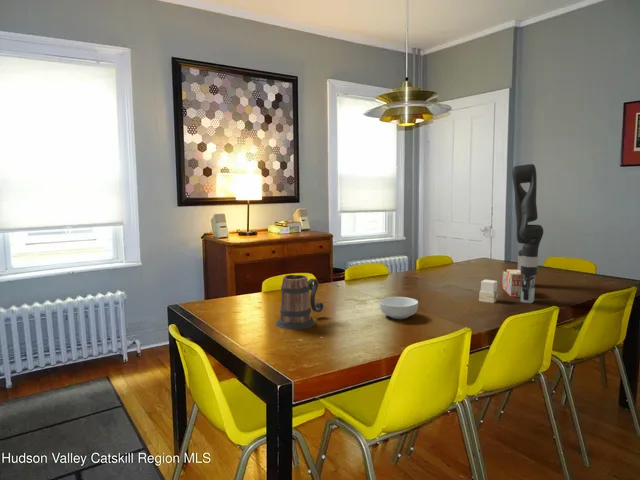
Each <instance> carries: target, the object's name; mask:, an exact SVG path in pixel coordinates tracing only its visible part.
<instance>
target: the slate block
mask: <svg viewBox="0 0 640 480" xmlns="http://www.w3.org/2000/svg"><path fill="white" fill-rule="evenodd" d="M535 288H536V287H535V286H534V287H531V288H530V289H529V298H528V300H524V299H523V296H524V292H522V288H521V297H520V303H526V304H532V303H533V302H534V301H535V291H536V289H535ZM525 290H526V288H525ZM534 303H535V302H534Z"/></svg>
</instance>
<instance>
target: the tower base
mask: <svg viewBox="0 0 640 480" xmlns="http://www.w3.org/2000/svg"><path fill="white" fill-rule="evenodd" d="M498 300H499V290H497V291H496V292H494V293H489V292H482V291H481V290H479V293H478V302H483V303H489V302H490V303H491V304H494V303H496V302H497V301H498Z"/></svg>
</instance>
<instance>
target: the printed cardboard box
mask: <svg viewBox="0 0 640 480" xmlns="http://www.w3.org/2000/svg"><path fill="white" fill-rule="evenodd" d="M524 277H525V275H522V274H521V271H520V270H518V269H510V268H509V269H506V271H502V284H501V287H502V288H503V290H504V291H505V292H506V293H507V294H508V296H509V297H511V298H512V297H513V298H521V288H522V280H523V278H524Z"/></svg>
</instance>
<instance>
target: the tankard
mask: <svg viewBox="0 0 640 480" xmlns="http://www.w3.org/2000/svg"><path fill="white" fill-rule="evenodd" d="M318 288H319V281H318V279H316V278H310V279H308V276H306V275H304V274H303V275H302V274H287V275H284V276H283V277H282V282H281V286H280V291H281V298H280V299H281V300H280V302H281V303H280V311H279V314H280V317H279V318H278V319H277V321H276V322H275V326H276V327H278V328H280V329H283V330H291V331H293V330H294V331H295V330H305V329H310V328H312V327H314V326H315V325H316V321H315V320H314V319H313V317H312V316H311V313H312V311H313V312H315V313H321V312H322V311H323V309H324V304H323V302H320V301H316V293H317V291H318ZM310 291H311V292H310ZM311 310H312V311H311Z"/></svg>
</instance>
